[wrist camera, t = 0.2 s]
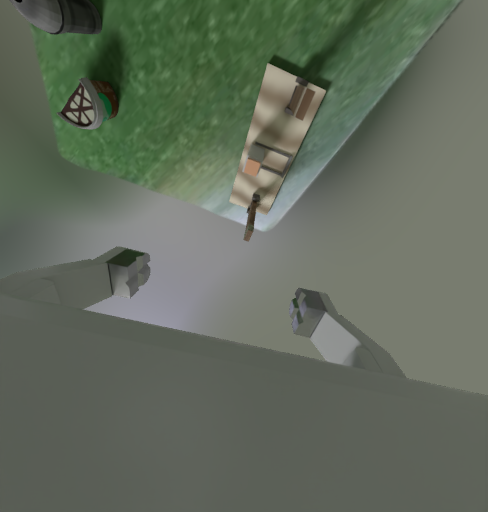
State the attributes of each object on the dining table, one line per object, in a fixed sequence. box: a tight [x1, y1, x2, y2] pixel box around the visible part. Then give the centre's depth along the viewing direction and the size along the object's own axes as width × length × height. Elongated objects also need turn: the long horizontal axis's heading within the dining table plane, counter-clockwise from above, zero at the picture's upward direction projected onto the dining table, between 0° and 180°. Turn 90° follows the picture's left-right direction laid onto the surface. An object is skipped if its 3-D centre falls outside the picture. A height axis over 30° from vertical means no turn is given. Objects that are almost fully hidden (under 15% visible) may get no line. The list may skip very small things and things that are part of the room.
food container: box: [57, 77, 118, 129], centre depth 44 cm, size 12×6×10 cm, turn 120°
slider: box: [242, 144, 265, 177], centre depth 46 cm, size 4×4×11 cm
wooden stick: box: [244, 200, 257, 241], centre depth 53 cm, size 2×4×18 cm, turn 163°
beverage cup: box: [10, 0, 102, 34], centre depth 30 cm, size 7×7×20 cm
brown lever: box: [288, 85, 315, 121], centre depth 34 cm, size 2×4×18 cm, turn 163°
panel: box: [229, 63, 326, 215], centre depth 50 cm, size 34×14×5 cm, turn 163°
